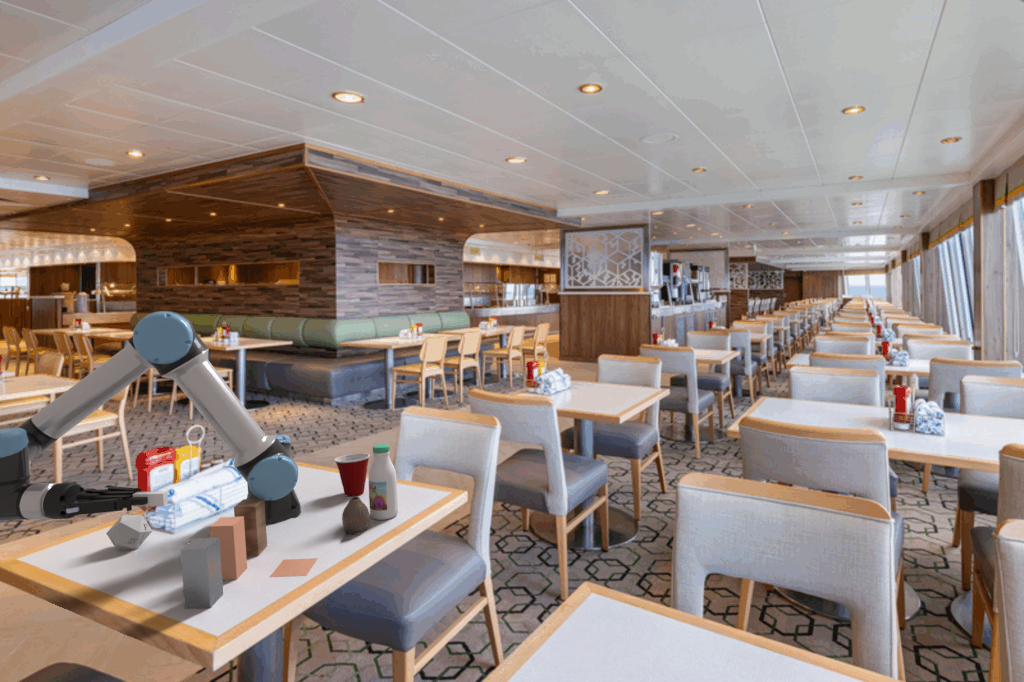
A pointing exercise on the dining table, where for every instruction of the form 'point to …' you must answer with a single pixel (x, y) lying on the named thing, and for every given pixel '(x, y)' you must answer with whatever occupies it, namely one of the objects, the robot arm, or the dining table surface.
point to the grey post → (201, 573)
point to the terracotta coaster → (294, 567)
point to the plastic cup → (353, 472)
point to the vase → (355, 516)
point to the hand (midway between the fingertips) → (165, 498)
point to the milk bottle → (382, 485)
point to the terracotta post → (231, 545)
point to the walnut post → (253, 524)
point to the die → (129, 532)
